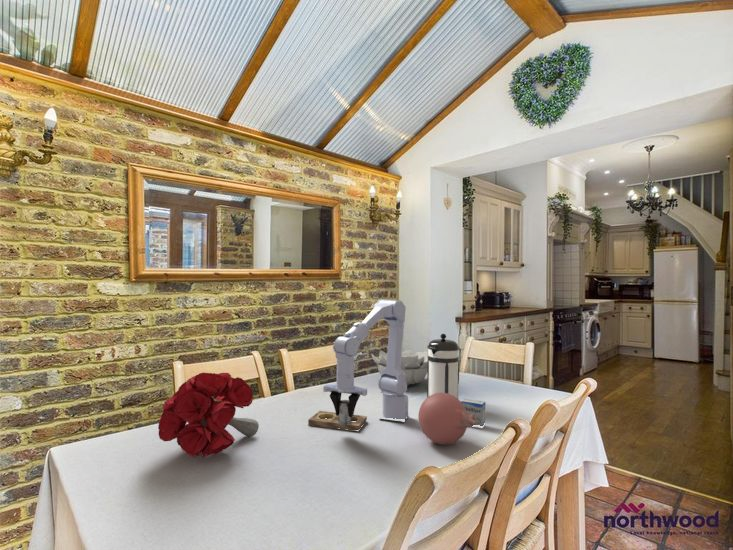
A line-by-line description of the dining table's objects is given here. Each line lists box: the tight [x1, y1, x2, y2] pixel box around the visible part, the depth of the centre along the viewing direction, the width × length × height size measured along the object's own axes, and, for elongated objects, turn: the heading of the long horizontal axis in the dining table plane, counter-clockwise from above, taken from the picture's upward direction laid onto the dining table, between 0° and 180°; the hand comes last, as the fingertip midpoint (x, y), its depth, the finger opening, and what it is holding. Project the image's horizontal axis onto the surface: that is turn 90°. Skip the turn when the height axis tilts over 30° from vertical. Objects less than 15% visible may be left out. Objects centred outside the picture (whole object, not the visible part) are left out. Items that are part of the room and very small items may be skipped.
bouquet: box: [157, 372, 259, 458], centre depth 116 cm, size 22×24×30 cm
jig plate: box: [307, 410, 368, 431], centre depth 137 cm, size 18×10×2 cm, turn 73°
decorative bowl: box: [371, 349, 428, 386], centre depth 193 cm, size 30×30×15 cm
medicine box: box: [460, 398, 486, 426], centre depth 137 cm, size 8×4×9 cm, turn 62°
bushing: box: [339, 399, 351, 426], centre depth 126 cm, size 4×4×7 cm
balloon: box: [418, 393, 477, 445], centre depth 120 cm, size 15×20×15 cm
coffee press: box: [426, 333, 460, 399], centre depth 158 cm, size 17×16×30 cm
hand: (344, 415), depth 126 cm, fingers closed on bushing, 4 cm apart
